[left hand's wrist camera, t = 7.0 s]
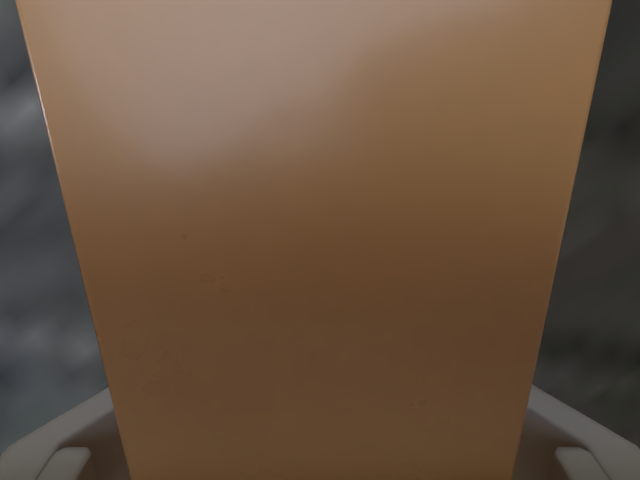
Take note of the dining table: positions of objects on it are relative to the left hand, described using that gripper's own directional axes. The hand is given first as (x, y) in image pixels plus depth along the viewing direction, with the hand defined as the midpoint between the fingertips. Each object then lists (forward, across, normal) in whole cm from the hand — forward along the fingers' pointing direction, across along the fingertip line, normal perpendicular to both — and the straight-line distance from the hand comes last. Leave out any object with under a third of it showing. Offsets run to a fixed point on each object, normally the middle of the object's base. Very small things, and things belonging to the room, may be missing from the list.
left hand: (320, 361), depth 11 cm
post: (+3, 0, -21) cm, 21 cm away
